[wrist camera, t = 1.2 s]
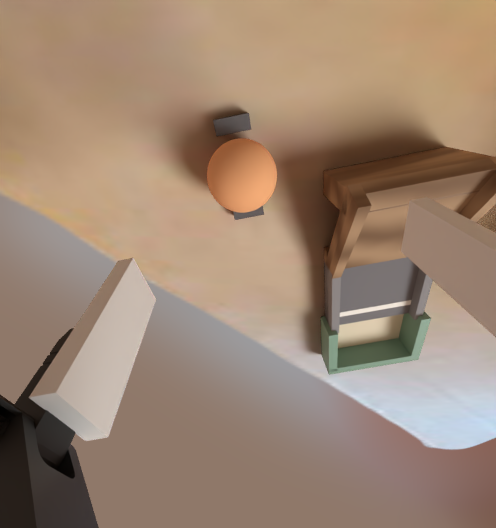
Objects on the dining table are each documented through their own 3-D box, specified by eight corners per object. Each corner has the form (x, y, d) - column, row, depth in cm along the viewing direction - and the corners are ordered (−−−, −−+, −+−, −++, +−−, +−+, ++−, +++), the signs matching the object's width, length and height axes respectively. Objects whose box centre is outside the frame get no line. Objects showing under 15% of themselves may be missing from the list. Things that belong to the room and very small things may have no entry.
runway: (324, 261, 31) (332, 274, 29) (423, 243, 30) (439, 255, 28) (324, 319, 36) (331, 334, 34) (409, 304, 36) (421, 318, 34)
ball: (201, 141, 23) (194, 153, 18) (267, 128, 23) (278, 136, 18) (217, 204, 26) (215, 229, 21) (274, 193, 26) (286, 215, 21)
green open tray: (320, 316, 36) (328, 336, 33) (414, 300, 36) (430, 318, 33) (321, 354, 41) (329, 374, 38) (404, 340, 40) (418, 359, 37)
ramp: (323, 168, 25) (359, 193, 18) (446, 144, 24) (530, 160, 18) (324, 268, 31) (351, 314, 25) (421, 250, 31) (476, 292, 24)
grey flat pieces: (213, 119, 22) (213, 120, 21) (247, 112, 22) (248, 113, 21) (234, 215, 27) (234, 219, 26) (262, 210, 27) (263, 214, 26)
